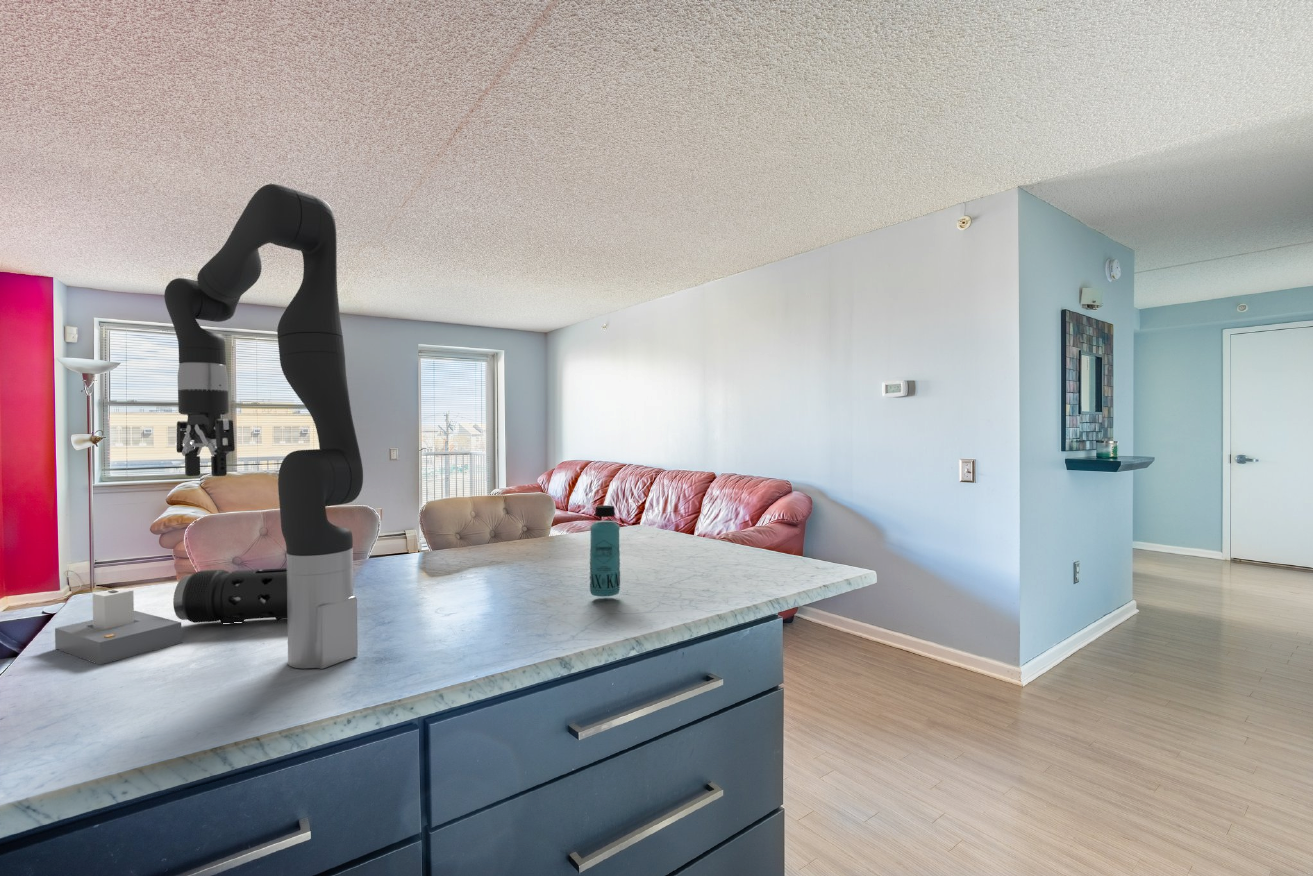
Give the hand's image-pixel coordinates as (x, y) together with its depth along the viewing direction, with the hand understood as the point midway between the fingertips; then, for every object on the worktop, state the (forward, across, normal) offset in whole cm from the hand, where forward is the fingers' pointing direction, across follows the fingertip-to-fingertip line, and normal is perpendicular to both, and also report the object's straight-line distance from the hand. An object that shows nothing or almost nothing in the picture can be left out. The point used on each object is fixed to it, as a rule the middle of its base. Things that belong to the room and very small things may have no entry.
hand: (205, 476), depth 113 cm
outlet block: (+28, +3, +12) cm, 31 cm away
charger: (+28, +5, +12) cm, 31 cm away
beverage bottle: (+29, -58, -46) cm, 80 cm away
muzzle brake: (+29, -7, -7) cm, 30 cm away
